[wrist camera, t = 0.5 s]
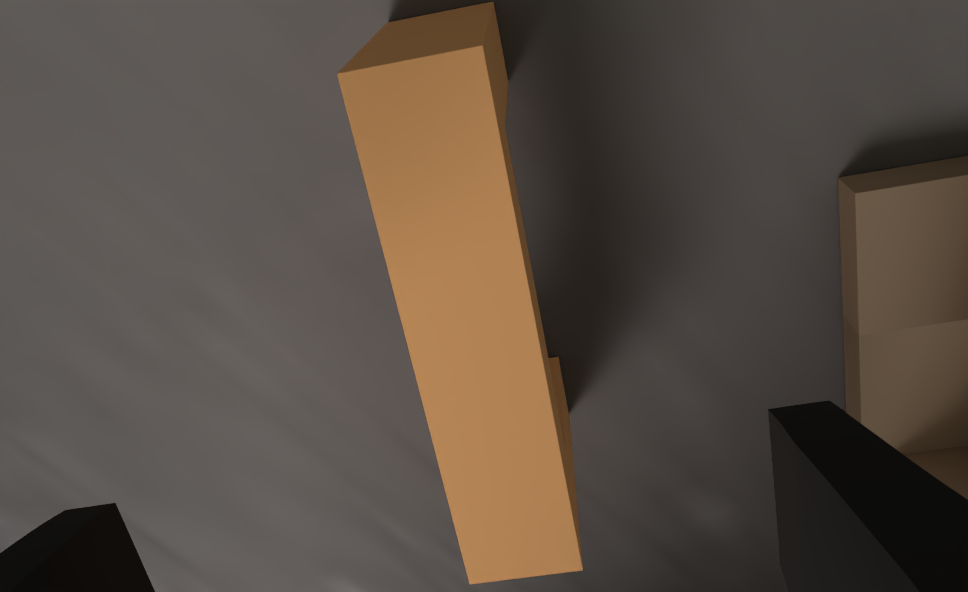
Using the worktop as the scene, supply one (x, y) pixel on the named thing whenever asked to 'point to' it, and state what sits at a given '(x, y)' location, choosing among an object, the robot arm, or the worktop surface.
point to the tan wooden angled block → (467, 286)
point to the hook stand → (909, 310)
